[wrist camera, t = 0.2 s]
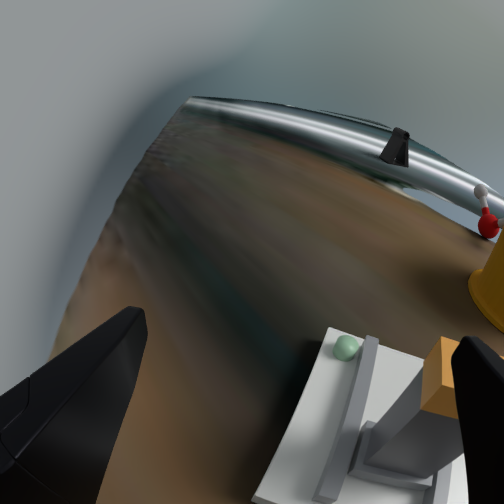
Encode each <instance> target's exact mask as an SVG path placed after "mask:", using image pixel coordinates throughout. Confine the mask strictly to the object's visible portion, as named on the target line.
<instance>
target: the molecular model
mask: <svg viewBox="0 0 504 504" xmlns="http://www.w3.org/2000/svg"><path fill="white" fill-rule="evenodd" d="M487 194H488V191H487V188H486V187H485V186H484V185H482V184H479V185H477V186H476V187H475V188H474V195H475V197H476V198H477V199H479V201H480V205H481V209H482V214H483V216H482V217H481V218H480V220H479V222H478V229H479V232H480V234H481V235H482V236H483V237H485V238H488V239H491V238H493V237H495V236H496V235H497V234H498V232H499V228H502V227H504V218H502V219H497V218H496V217H495V216H494V215H492V214H490V213H489V209H488V205H487V201H486V197H487Z"/></svg>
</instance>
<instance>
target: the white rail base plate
mask: <svg viewBox="0 0 504 504" xmlns="http://www.w3.org/2000/svg"><path fill="white" fill-rule="evenodd" d="M378 343H379V339H377V338H374V337H371V336H368V335H367V336H366V337H365V339H361V338H359V337H356V336H353V335H350V334H347V333H344V332H342V331H339V330H336V329H333V328H331V327H329V328H328V330H327V333H326V335H325V338H324V340H323V343H322V345H321V348H320V351H319V353H318V356H317V358H316V361H315V363H314V366H313V368H312V371H311V373H310V376H309V378H308V381H307V383H306V386H305V388H304V390H303V393H302V395H301V397H300V400H299V402H298V404H297V407H296V409H295V411H294V414H293V416H292V418H291V420H290V423H289V425H288V427H287V429H286V431H285V433H284V436H283V438H282V440H281V442H280V444H279V446H278V448H277V450H276V452H275V455H274V457H273V459H272V461H271V463H270V465H269V467H268V469H267V471H266V473H265V475H264V477H263V479H262V481H261V482H260V484H259V486H258V488H257V490H256V492H255V494H254V496H253V498H252V500H251V501H252V502H255V503H257V504H469V503H468V488H467V476H466V467H465V458H464V453H463V454H462V455H461V456H459V457H458V458H456V459H455V460H454V461H452V462H451V463H449V464H448V465H447V466H445V467H444V468H442V469H441V470H439V471H438V472H436V473H435V474H433V480H432V486H430V487H429V488H427V489H425V490H423V491H418V490H412V489H407V488H402V487H397V486H392V485H388V484H383V483H379V482H375V481H371V480H367V479H363V478H359V477H355V476H352V475H348V474H347V473H348V470H349V467H350V464H351V461H352V457H353V454H354V451H355V447H356V444H357V440H358V436H359V433H360V429H361V427H362V426H363V425H364V423H365V422H366V421H367V420H369V421H372V422H375V423H377V422H378V421H379V420H380V419H381V418H382V416H383V415H384V414H385V413H386V412H387V411H388V409H389V408H390V407H391V406H392V405H393V404H394V402H395V401H396V400H397V399H398V398H399V396H400V395H401V394H402V393H403V391H404V390H405V389H406V388H407V386H408V385H409V384H410V383H411V381H412V380H413V379H414V377H415V376H416V375H417V373H418V372H419V371H420V369H421V368H422V367H423V361H424V359H421V358H418V357H415V356H412V355H409V354H406V353H403V352H400V351H397V350H394V349H391V348H388V347H385V346H382V345H379V344H378Z"/></svg>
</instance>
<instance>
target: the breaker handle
mask: <svg viewBox="0 0 504 504" xmlns="http://www.w3.org/2000/svg"><path fill="white" fill-rule="evenodd" d="M459 343H460V342H457V341H454V340H451V339H448V338H445V337H442V336H441V337H440V338H439V340H438V341H437V343H436V344H435V346H434V347H433V349H432V350H431V352H430V353H429V354H428V356H427V357H426V359H425V360H424V361H423V367H422V368H421V369H420V371H419V372H418V373H417V375H416V376H415V377H414V379H413V380H412V381H411V383H410V384H409V385H408V386H407V388H406V389H405V390H404V391H403V393H402V394H401V395H400V396H399V398H398V399H397V400H396V401H395V402H394V404H393V405H392V406H391V407H390V408H389V409H388V411H387V412H386V413H385V414H384V415H383V416H382V418H381V419H380V420H379V421H378V422H377V423H375V422H372V421H369V420H367V421H366V422H365V423H364V425H363V426H362V427H361V429H360V433H359V436H358V440H357V444H356V447H355V451H354V454H353V457H352V461H351V464H350V467H349V470H348V473H347V474H348V475H352V476H355V477H359V478H363V479H367V480H371V481H375V482H379V483H383V484H388V485H392V486H397V487H402V488H407V489H412V490H418V491H423V490H425V489H427V488H429V487H430V486H432V480H433V474H435V473H436V472H438V471H439V470H441V469H442V468H444V467H445V466H447V465H448V464H449V463H451V462H452V461H454V460H455V459H456V458H458V457H459V456H461V455H462V454H463V453H464V450H463V443H462V437H461V430H460V424H459V419H458V413H457V407H456V400H455V391H454V383H453V375H452V368H451V356H452V354H453V352H454V351H455V349H456V348H457V346H458V344H459ZM500 357H502V356H500ZM502 358H503V359H504V357H502Z"/></svg>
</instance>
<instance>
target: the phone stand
mask: <svg viewBox="0 0 504 504" xmlns="http://www.w3.org/2000/svg"><path fill="white" fill-rule="evenodd" d="M409 136H410V135H409V133H408V132H406V131H404V130H402V129H400V128H397V127H396V128H394V130H393V134H392V136H391V138H390V139H389V141H388V143H387V145H386V146H385V148H384V150H383V151H382V153H381V155H380V156H379V158H381V159H382V160H384V161H385V162H387V163H388V164H393V165H399V166H403V167H408V140H409ZM394 159H395V160H394Z"/></svg>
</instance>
